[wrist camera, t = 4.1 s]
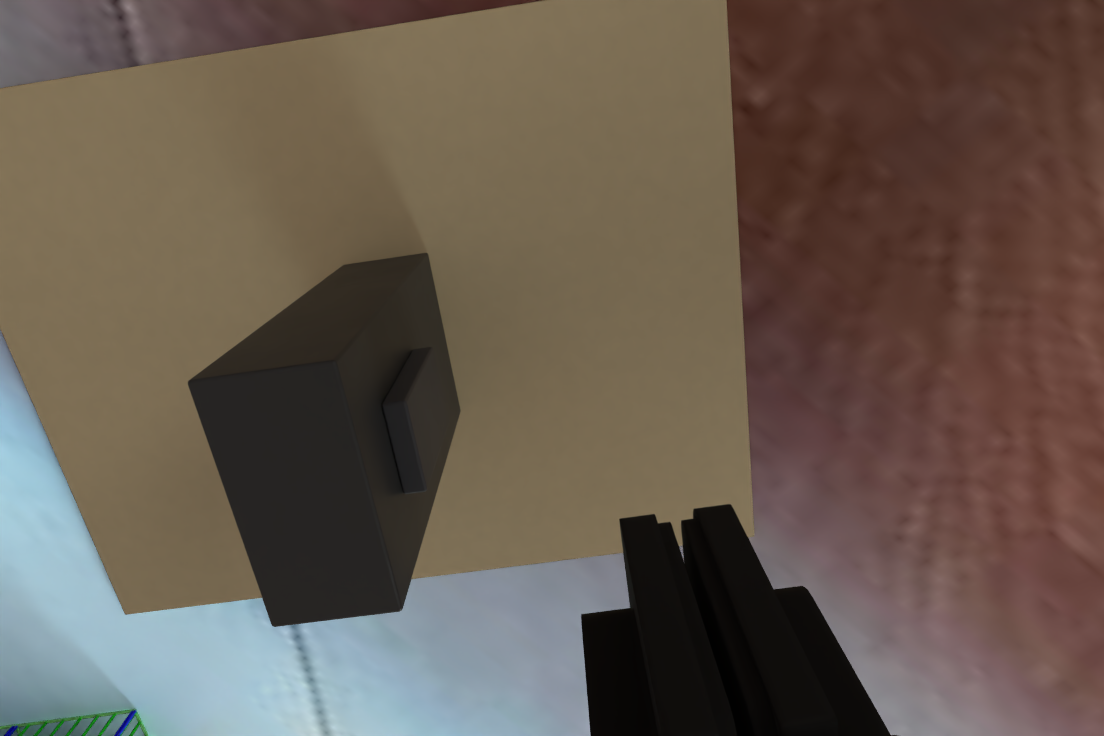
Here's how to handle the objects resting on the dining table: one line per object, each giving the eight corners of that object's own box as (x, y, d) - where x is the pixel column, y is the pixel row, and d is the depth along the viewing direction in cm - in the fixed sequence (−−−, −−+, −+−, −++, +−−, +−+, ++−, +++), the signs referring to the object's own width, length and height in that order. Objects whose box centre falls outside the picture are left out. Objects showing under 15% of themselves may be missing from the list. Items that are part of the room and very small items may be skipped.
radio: (339, 265, 24) (179, 381, 14) (445, 249, 24) (365, 356, 13) (379, 423, 26) (266, 629, 16) (477, 409, 26) (429, 609, 15)
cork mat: (-91, 104, 22) (-99, 103, 22) (722, -28, 21) (725, -29, 21) (128, 610, 29) (124, 615, 29) (752, 532, 28) (754, 536, 28)
